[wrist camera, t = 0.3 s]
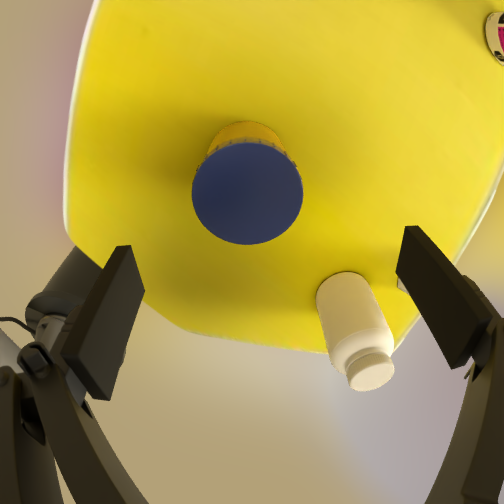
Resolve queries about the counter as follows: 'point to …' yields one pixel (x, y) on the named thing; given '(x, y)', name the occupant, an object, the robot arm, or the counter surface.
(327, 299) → the pill bottle
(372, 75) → the counter surface
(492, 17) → the supplement can
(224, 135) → the jam jar
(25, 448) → the robot arm
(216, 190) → the jam lid
